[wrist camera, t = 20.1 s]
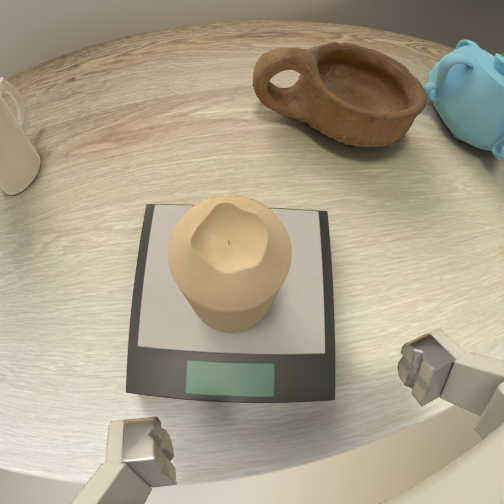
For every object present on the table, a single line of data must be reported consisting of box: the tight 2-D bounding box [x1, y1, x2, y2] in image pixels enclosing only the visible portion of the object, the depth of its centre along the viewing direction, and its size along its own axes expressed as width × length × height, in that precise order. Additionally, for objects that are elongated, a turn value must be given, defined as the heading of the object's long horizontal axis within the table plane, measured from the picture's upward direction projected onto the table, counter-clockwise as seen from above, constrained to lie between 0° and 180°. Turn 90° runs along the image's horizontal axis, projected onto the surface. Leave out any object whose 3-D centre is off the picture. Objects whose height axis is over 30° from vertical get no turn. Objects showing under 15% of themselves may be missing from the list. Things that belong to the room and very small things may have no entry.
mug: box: [0, 78, 41, 195], centre depth 23 cm, size 10×7×12 cm, turn 177°
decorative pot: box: [423, 40, 504, 160], centre depth 29 cm, size 16×16×14 cm
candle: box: [168, 196, 292, 333], centre depth 17 cm, size 6×6×10 cm
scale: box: [126, 204, 335, 403], centre depth 23 cm, size 15×15×3 cm
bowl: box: [253, 42, 427, 147], centre depth 28 cm, size 18×14×10 cm
